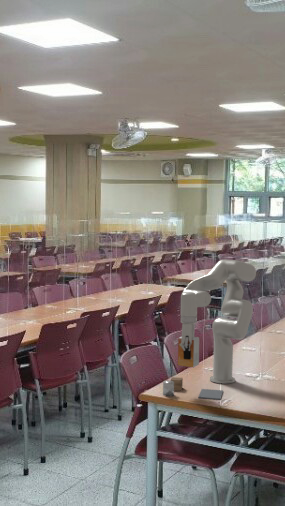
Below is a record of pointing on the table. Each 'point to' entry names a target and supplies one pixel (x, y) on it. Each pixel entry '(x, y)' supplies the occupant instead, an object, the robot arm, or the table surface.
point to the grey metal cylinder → (168, 388)
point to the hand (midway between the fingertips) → (188, 356)
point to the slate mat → (210, 394)
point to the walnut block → (177, 383)
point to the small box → (194, 353)
